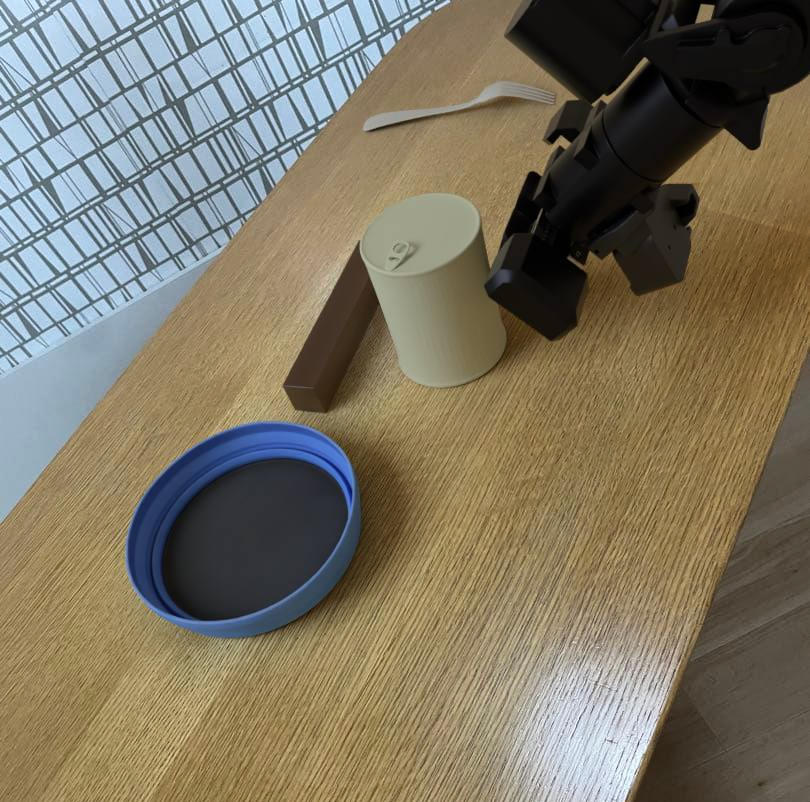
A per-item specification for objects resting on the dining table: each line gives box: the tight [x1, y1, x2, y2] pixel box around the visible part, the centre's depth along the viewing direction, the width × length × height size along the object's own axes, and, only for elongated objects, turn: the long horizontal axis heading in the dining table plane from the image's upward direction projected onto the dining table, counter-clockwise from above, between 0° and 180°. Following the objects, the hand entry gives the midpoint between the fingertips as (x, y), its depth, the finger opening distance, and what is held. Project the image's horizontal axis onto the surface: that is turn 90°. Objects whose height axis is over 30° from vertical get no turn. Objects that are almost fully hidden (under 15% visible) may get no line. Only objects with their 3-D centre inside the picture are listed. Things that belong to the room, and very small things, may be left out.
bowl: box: [124, 420, 362, 639], centre depth 62 cm, size 18×18×4 cm
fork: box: [362, 80, 556, 132], centre depth 90 cm, size 3×21×3 cm, turn 79°
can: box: [360, 192, 508, 389], centre depth 65 cm, size 9×9×12 cm
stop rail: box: [282, 239, 380, 414], centre depth 73 cm, size 3×18×3 cm, turn 160°
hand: (495, 282), depth 64 cm, fingers closed
